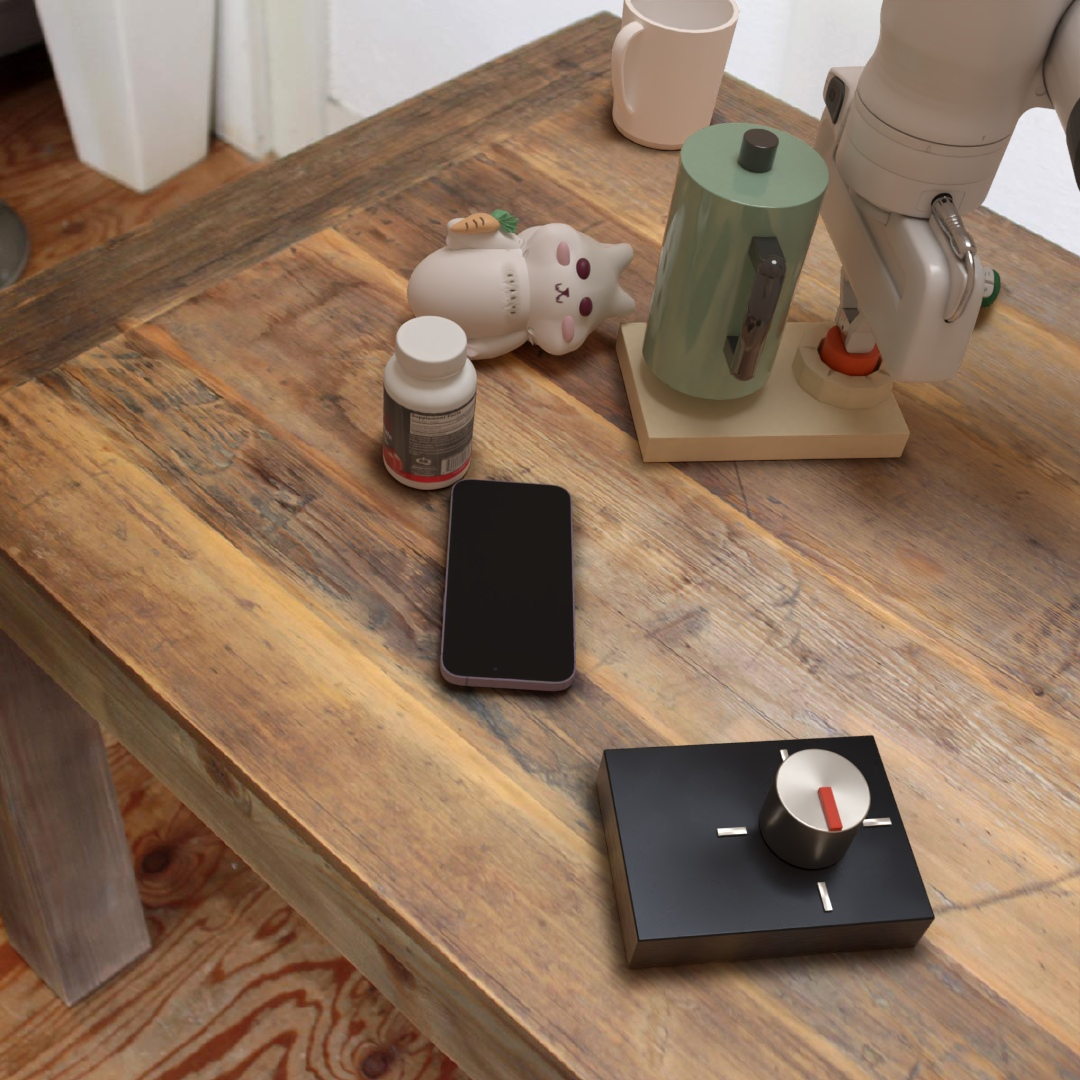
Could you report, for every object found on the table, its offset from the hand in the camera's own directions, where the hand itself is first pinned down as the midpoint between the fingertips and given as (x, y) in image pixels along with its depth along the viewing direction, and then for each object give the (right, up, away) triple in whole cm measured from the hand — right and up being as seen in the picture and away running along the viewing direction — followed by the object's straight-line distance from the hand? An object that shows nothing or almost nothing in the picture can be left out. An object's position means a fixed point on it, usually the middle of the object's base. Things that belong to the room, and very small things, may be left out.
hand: (851, 338), depth 85 cm
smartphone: (-22, -16, -9) cm, 28 cm away
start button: (0, -1, +1) cm, 2 cm away
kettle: (-9, -1, -1) cm, 9 cm away
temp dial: (-7, -27, -22) cm, 35 cm away
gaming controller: (+9, +5, +13) cm, 16 cm away
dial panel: (-10, -29, -20) cm, 36 cm away
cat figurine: (-22, +1, +5) cm, 22 cm away
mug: (-11, +21, +24) cm, 34 cm away
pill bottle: (-27, -8, -4) cm, 28 cm away
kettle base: (-6, -4, +3) cm, 7 cm away
